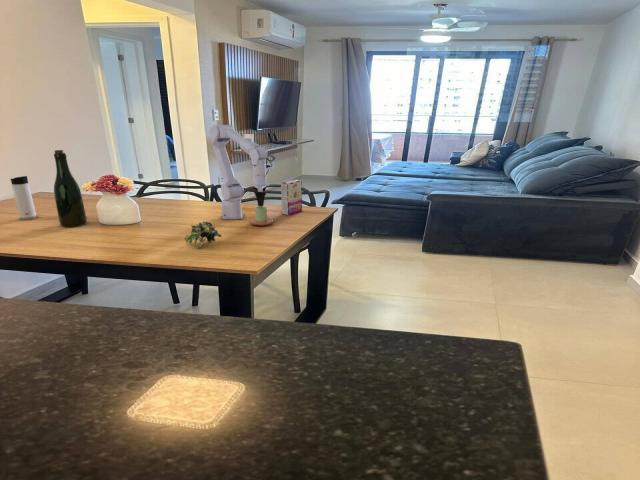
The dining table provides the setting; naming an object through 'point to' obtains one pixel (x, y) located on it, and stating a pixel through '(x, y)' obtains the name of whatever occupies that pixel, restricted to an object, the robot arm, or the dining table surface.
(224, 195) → the robot arm
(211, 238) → the green leafy plant
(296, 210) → the candy bar box
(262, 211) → the jar
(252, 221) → the stand
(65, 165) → the green wine bottle
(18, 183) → the travel mug
